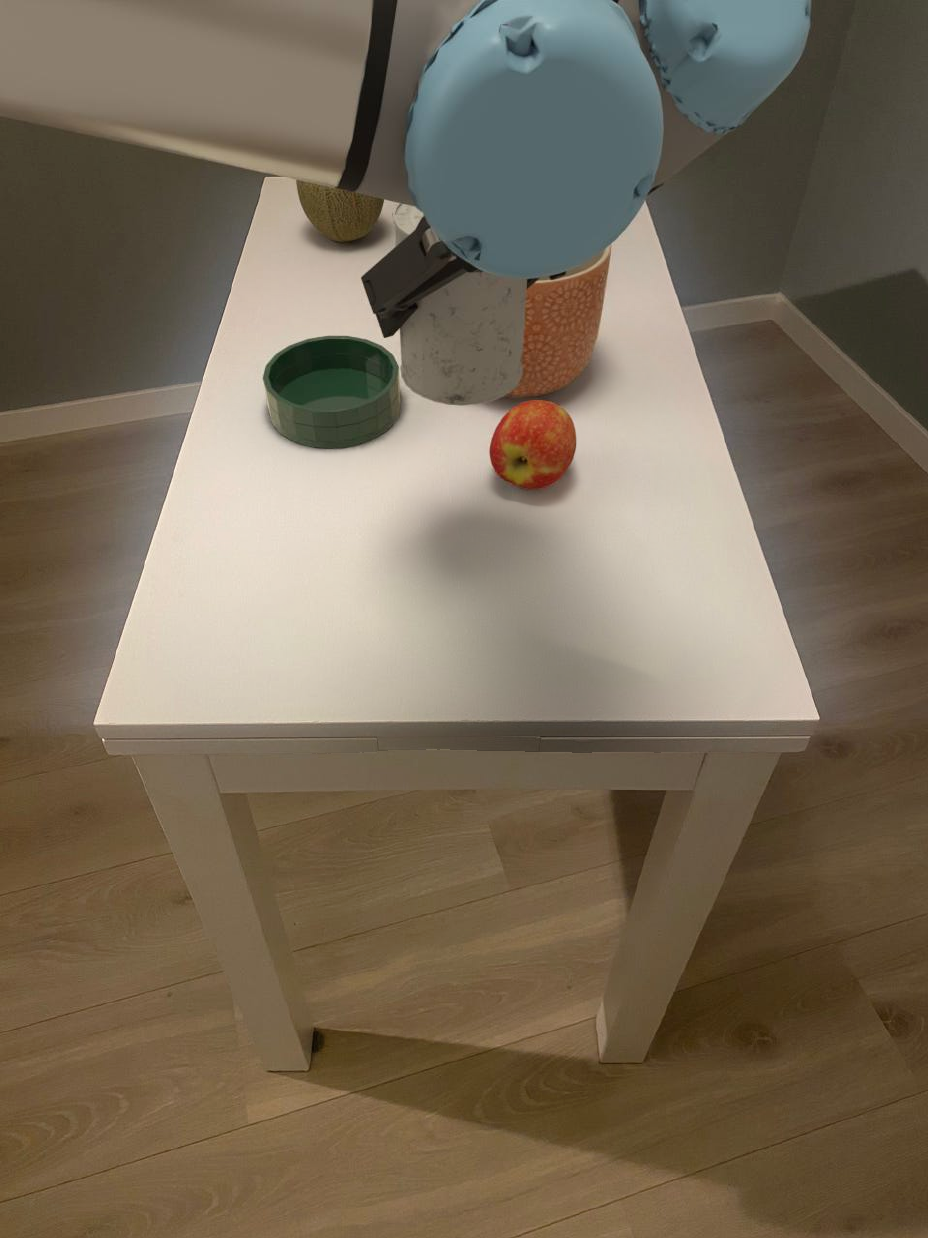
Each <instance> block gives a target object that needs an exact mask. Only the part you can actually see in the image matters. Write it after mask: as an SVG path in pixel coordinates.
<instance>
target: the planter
mask: <svg viewBox="0 0 928 1238" xmlns="http://www.w3.org/2000/svg"><path fill="white" fill-rule="evenodd" d="M611 255H612V244H610V245H609V246H608V247H607V248H606V249H604V250H603V251H602V252H601V253H599V254H598V255H596V256H595V257H593V258H592V259H590V260H589V261H587V262H585V263H583V264H581V265H579V266H577V267H575V268H572V269H570V270H567V271H565V272H566V275H564V276H562V277H560V278H558V279H555V280H550V278H549V276H547V277H541V278H539V279H538V280H537V281H536V282H535V283H534V284H532V285H531V286H530V287H529V288H528V289H527V290H526V306H525V323H524V339H523V356H522V365H523V373H522V378H521V380H520V382H519V384H518V385H517V386H516V387H515V388H514V389H513V390H512V391H511V392H509V393H508V394H506V395H505V396H503V397H506V398H512V399H529V398H538V397H542V396H545V395H549V394H551V393H553V392H556V391H559V390H560V389H562V388H564V387H566V386H568V385H569V384H570V383H572V382H573V381H574V380H575V379H577V378H578V377H579V375H581V373H582V372H583V371H584V370H585V369H586V367H587V366H588V363H589V362H590V361H591V358H592V356H593V353H594V350H595V346H596V342H597V340H598V337H599V331H600V326H601V320H602V315H603V310H604V302H605V297H606V296H605V294H606V291H607V290H606V289H607V282H608V276H609V270H610V263H611Z"/></svg>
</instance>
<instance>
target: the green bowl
mask: <svg viewBox="0 0 928 1238" xmlns="http://www.w3.org/2000/svg"><path fill="white" fill-rule="evenodd" d="M400 381H401V380H400V367H399V364H398V362H397V359H396V358H395V356H394V355H393V353H392V352H390V351H389V350H388V349H387V348H385V346H383V345H381V344H379V343H376V342H374V341H372V340H369V339H367V338H361V337H356V336H352V335H351V336H350V335H323V336H318V337H312V338H307V339H306V338H305V339H304V340H301V341H297V342H295V343H292V344H290V345H288V346H286V347H285V348H283V349H281V350H280V351H278V352H277V353H275V354H274V355H273V356H272V358H271V359H270V360H269V361H268V362H267V364H266V365H265V367H264V371H263V374H262V382H263V388H264V393H265V398H266V399H265V400H266V404H267V409H268V413H269V418H270V422H271V423H272V425H273V427H274V429H276V431H277V432H278V433H279V434H281V436H282V437H284V438H286V439H287V440H290V441H291V442H294V443H296V444H299V445H302V446H306V447H311V448H317V449H342V448H343V449H344V448H349V447H353V446H358V445H361V444H364V443H367V442H370V441H372V440H374V439H376V438H379V437H380V436H381V435H383V434H384V433H386V432H387V431H388V430H389V429H390V428H391V427H392V426H393V425H394V424H395V423H396V421H397V420H398V418H399V415H400V412H401V382H400Z"/></svg>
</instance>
